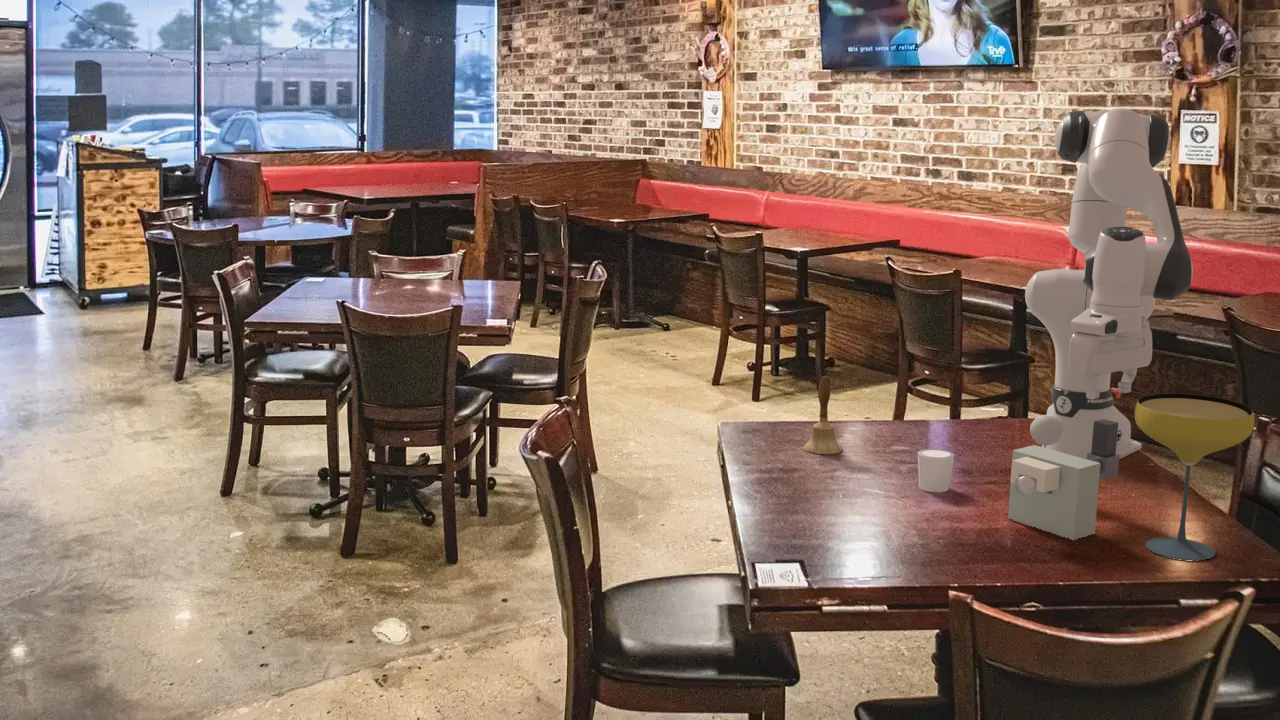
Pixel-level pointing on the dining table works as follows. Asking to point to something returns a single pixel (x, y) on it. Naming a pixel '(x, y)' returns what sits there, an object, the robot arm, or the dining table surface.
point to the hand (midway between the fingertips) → (1108, 395)
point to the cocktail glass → (1191, 447)
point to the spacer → (1036, 473)
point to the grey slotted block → (1059, 496)
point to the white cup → (935, 469)
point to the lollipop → (1046, 430)
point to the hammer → (1089, 455)
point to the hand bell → (823, 426)
